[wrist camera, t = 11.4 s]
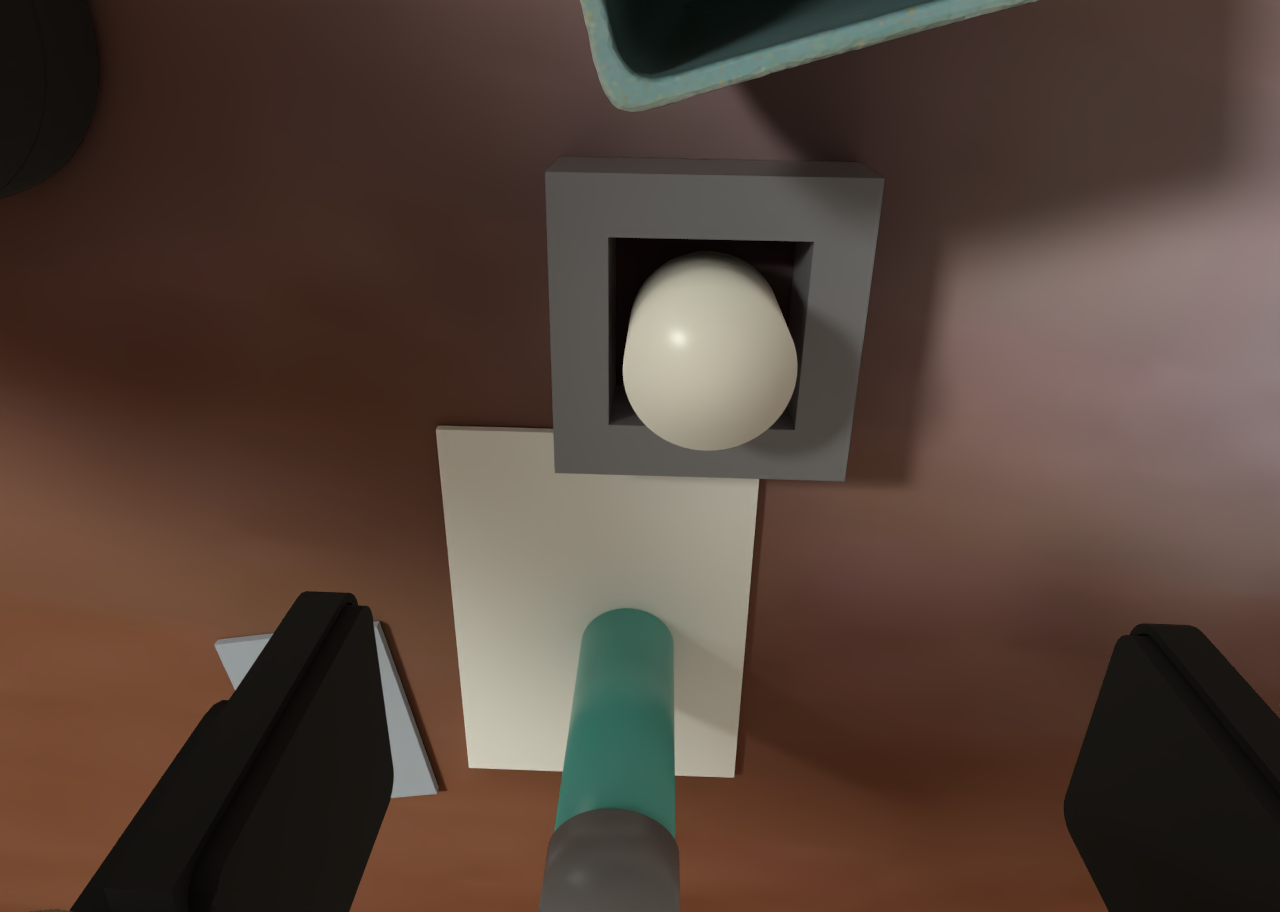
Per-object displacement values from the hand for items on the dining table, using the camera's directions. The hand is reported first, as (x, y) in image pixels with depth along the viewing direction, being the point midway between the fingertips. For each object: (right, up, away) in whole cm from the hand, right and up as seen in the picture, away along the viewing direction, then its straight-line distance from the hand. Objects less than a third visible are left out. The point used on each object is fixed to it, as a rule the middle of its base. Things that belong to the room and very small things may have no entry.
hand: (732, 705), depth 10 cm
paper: (-2, -3, +19) cm, 19 cm away
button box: (+1, +7, +14) cm, 16 cm away
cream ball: (+1, +7, +12) cm, 14 cm away
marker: (-2, -4, +19) cm, 20 cm away
